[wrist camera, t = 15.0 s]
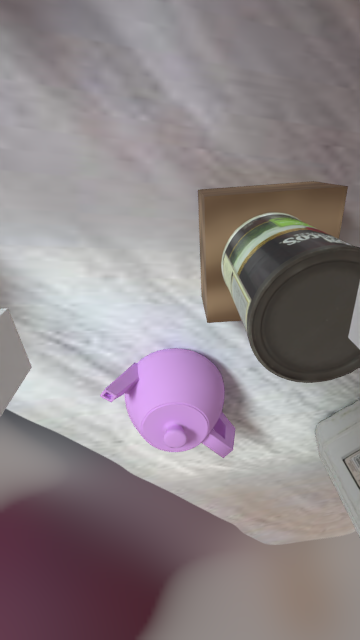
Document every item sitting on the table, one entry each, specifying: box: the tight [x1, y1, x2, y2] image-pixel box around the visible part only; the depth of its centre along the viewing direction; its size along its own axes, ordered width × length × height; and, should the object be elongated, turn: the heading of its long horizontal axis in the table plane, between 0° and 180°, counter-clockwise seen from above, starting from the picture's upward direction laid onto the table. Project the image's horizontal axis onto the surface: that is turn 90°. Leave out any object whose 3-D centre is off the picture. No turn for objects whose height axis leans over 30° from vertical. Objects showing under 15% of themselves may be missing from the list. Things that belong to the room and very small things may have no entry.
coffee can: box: [221, 213, 360, 383], centre depth 27 cm, size 10×10×14 cm
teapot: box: [100, 348, 235, 458], centre depth 45 cm, size 22×16×12 cm
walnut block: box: [198, 181, 348, 323], centre depth 37 cm, size 14×14×8 cm
